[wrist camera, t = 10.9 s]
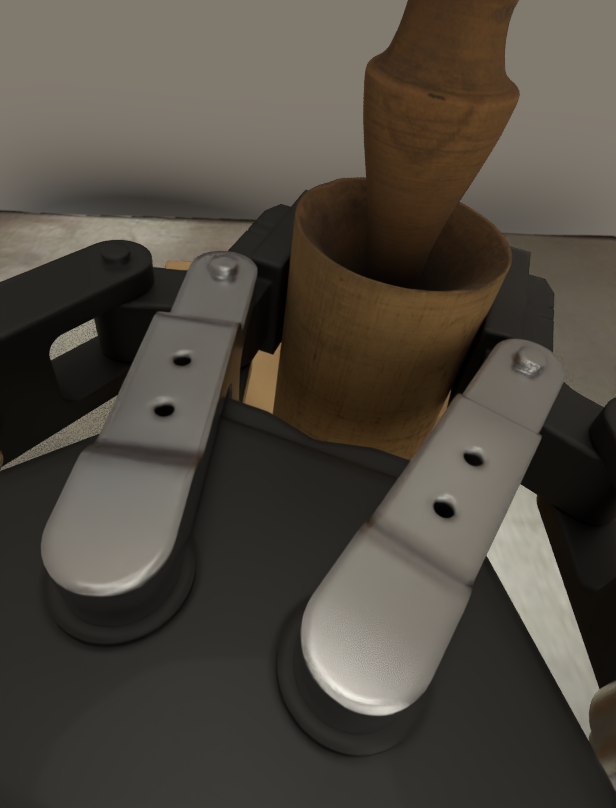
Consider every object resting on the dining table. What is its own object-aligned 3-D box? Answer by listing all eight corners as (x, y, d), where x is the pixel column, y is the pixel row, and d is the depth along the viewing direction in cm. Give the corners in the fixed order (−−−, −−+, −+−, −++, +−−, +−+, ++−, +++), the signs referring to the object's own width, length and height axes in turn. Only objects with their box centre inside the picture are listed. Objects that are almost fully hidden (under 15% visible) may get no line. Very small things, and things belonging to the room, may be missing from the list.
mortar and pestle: (437, 628, 16) (1477, -648, 3) (219, 646, 15) (202, -1335, 2) (389, 452, 20) (693, -351, 7) (218, 456, 19) (212, -484, 6)
